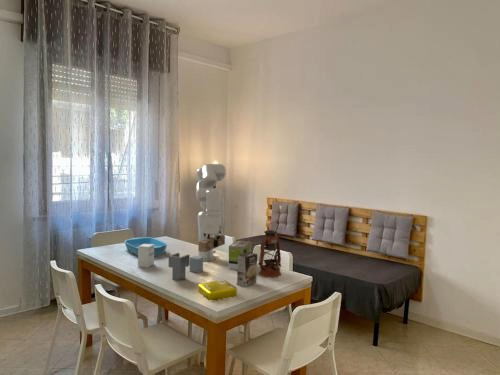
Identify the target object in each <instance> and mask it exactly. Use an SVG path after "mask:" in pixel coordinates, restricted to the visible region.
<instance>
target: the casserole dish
mask: <svg viewBox="0 0 500 375" xmlns="http://www.w3.org/2000/svg"><path fill="white" fill-rule="evenodd" d="M124 244H125V247H126V249H127V250H128V251H129V252H131V253H132V254H134V255H136V256H138V246H140V245H142V244H154V257H155V256H160V255H163V254H164V253H165V252H166V249H167V246H168V243H167V242H165V241H162V240H160V239H158V238H156V237H151V236H150V237H148V236H147V237H132V238H128V239H125V240H124Z"/></svg>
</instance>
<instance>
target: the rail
mask: <svg viewBox="0 0 500 375" xmlns="http://www.w3.org/2000/svg"><path fill="white" fill-rule="evenodd" d="M214 240H215V237H214V235H213V237H210V238H207V239H205V240H202V241H199V240H198V244H199V251H201V252H207V251H209V250H212V249H213V250H215V249H216V248H219V247H221V246H223V245H225V244H226V242H225V240H226V234H224V236H222V237H221V238H220V239H219V240H218V247H215V248H214Z"/></svg>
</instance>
